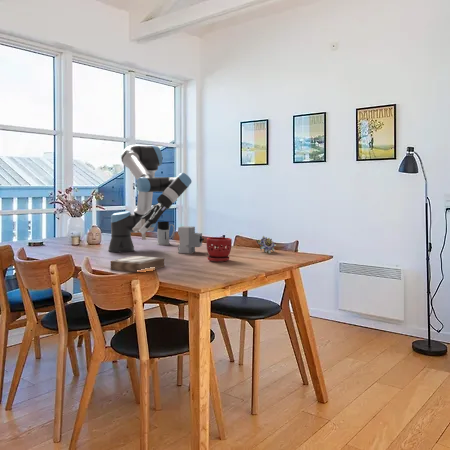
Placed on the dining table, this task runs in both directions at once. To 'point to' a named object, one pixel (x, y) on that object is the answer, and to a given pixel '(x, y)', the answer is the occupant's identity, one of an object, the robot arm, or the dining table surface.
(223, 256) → the plant pot
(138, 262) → the stand
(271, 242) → the passion flower
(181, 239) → the circuit breaker
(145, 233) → the pipe connector
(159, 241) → the grey travel mug
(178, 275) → the dining table surface
